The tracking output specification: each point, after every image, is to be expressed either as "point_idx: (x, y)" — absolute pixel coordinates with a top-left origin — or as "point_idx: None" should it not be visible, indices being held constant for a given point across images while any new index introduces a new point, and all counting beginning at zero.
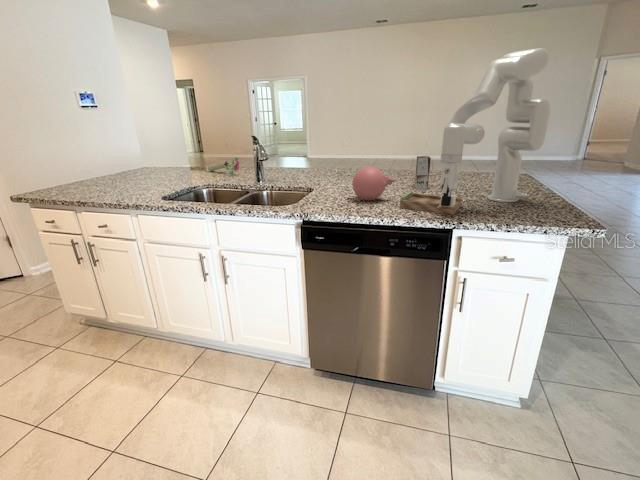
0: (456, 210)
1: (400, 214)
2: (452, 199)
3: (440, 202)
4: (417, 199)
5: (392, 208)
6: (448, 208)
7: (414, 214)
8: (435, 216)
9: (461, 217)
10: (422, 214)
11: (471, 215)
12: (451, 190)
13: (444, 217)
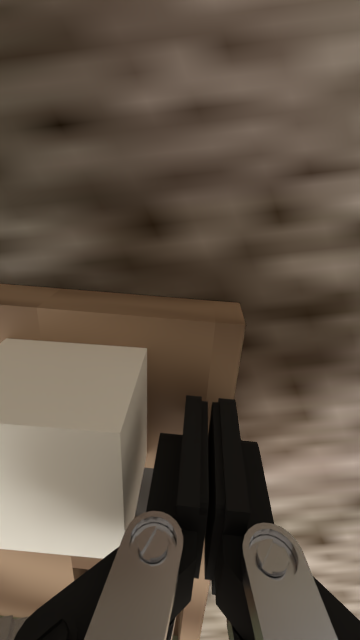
0: (91, 293)
1: (341, 591)
2: (127, 425)
3: (139, 485)
4: (22, 586)
5: (217, 626)
6: (206, 381)
7: (319, 538)
8: (340, 427)
9: (319, 215)
10: (305, 502)
11: (194, 105)
12: (129, 632)
13: (357, 364)
